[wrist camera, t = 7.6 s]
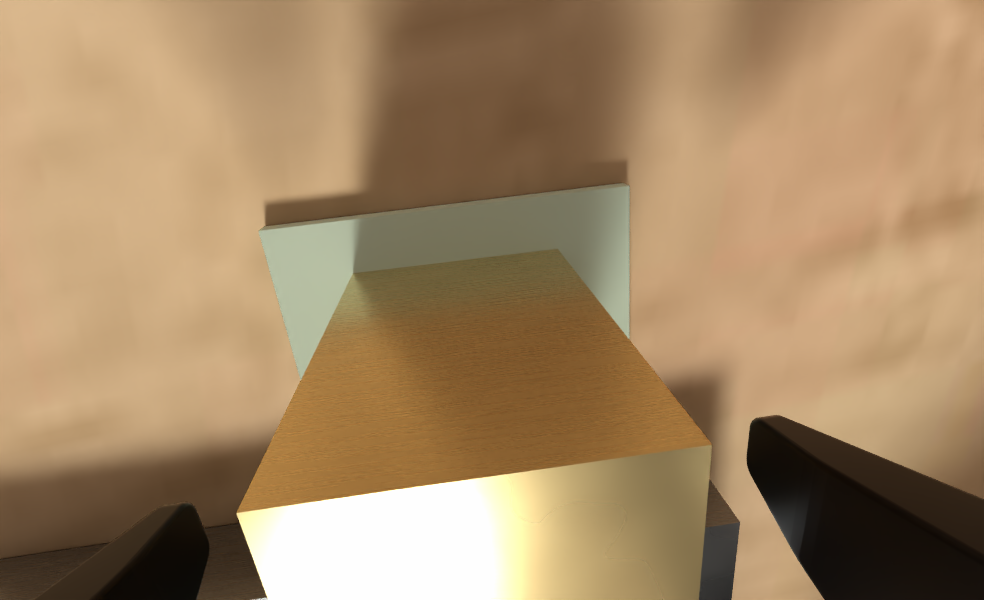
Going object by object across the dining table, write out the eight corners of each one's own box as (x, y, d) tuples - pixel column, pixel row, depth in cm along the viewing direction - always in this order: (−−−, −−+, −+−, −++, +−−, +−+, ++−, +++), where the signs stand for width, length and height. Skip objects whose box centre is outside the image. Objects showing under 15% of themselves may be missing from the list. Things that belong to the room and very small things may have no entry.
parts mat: (623, 182, 11) (629, 185, 11) (624, 436, 14) (628, 445, 14) (264, 226, 11) (258, 231, 11) (334, 479, 14) (331, 490, 13)
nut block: (557, 248, 11) (712, 444, 5) (565, 418, 13) (687, 726, 7) (352, 272, 11) (237, 512, 5) (388, 443, 13) (338, 788, 6)
